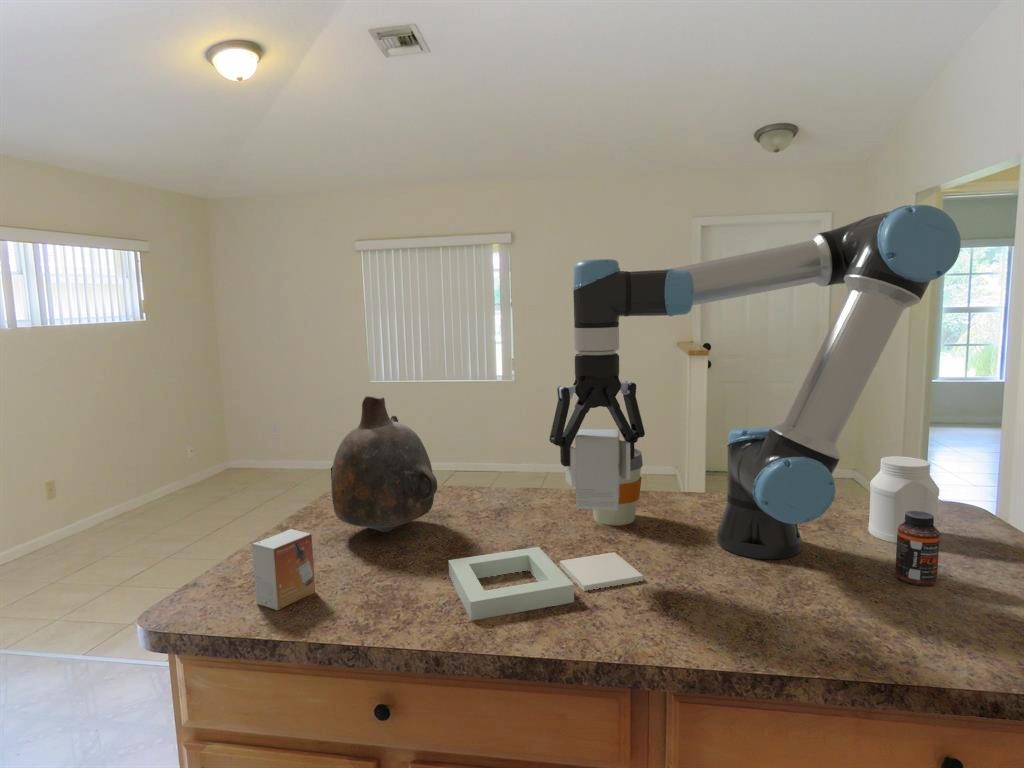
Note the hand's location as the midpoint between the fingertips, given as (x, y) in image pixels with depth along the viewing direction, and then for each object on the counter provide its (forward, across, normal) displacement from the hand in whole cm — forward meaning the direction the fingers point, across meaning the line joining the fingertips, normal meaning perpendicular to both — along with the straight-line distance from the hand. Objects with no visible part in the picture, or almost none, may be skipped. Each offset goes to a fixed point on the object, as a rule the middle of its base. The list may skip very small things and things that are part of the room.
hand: (598, 480), depth 110 cm
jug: (+17, +34, -36) cm, 52 cm away
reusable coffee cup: (+17, -15, -25) cm, 34 cm away
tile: (+17, 0, 0) cm, 17 cm away
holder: (+17, +17, 0) cm, 24 cm away
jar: (+17, -63, +5) cm, 66 cm away
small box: (+17, +53, -10) cm, 56 cm away
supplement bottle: (+17, -48, +21) cm, 55 cm away
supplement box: (+4, 0, 0) cm, 4 cm away
